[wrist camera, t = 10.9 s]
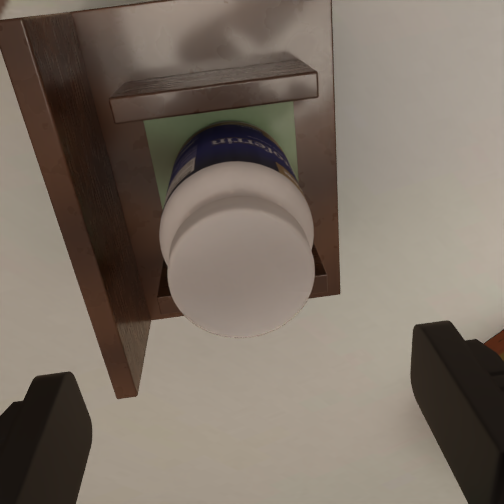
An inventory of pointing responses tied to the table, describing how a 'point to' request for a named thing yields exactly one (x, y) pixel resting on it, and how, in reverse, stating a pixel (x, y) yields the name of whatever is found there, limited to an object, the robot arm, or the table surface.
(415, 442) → the table surface
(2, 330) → the table surface
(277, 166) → the pill bottle
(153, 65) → the shelf
